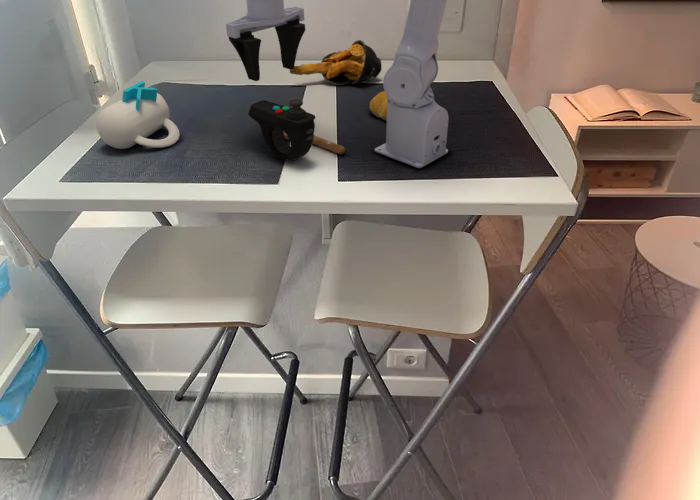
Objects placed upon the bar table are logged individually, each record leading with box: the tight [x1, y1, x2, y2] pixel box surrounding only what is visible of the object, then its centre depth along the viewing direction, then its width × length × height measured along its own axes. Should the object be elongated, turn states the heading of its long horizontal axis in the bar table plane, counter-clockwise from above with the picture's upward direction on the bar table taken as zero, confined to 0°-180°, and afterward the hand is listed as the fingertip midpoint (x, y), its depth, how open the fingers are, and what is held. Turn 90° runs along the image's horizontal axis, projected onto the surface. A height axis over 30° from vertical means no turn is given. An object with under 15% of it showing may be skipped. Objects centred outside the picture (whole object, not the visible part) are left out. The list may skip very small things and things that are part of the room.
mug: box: [95, 80, 181, 150], centre depth 95 cm, size 12×9×12 cm
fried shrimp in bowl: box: [289, 39, 383, 86], centre depth 118 cm, size 9×11×18 cm
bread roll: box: [369, 90, 387, 122], centre depth 106 cm, size 8×9×4 cm
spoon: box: [283, 131, 346, 155], centre depth 97 cm, size 17×6×1 cm, turn 47°
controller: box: [247, 98, 316, 162], centre depth 90 cm, size 4×12×10 cm, turn 50°
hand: (271, 73), depth 95 cm, fingers open, 7 cm apart
